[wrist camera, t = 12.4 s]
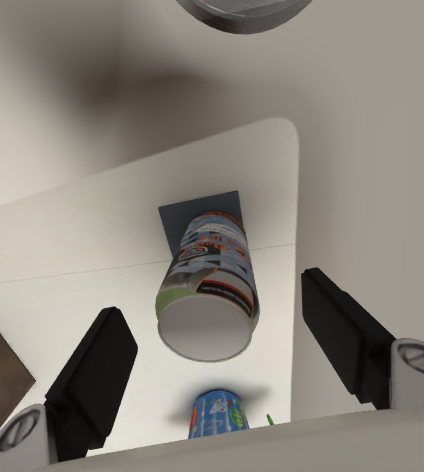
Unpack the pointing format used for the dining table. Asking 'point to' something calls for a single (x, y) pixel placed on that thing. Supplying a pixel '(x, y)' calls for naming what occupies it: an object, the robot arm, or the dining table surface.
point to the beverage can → (209, 292)
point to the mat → (195, 214)
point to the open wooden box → (11, 381)
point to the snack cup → (218, 415)
